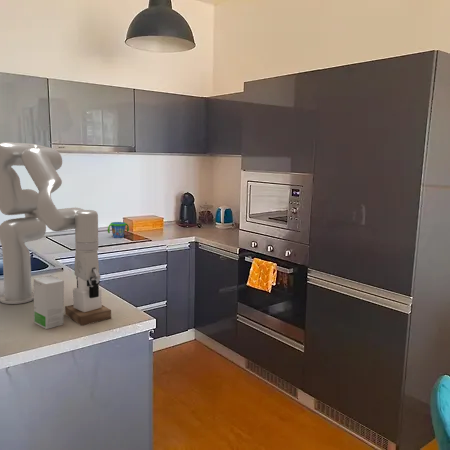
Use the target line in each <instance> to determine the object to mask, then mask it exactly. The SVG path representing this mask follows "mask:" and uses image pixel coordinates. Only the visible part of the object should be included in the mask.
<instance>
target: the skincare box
mask: <svg viewBox="0 0 450 450" xmlns="http://www.w3.org/2000/svg"><path fill="white" fill-rule="evenodd" d="M64 286H65V281H64V280H63V279H60V278H59V277H56V276H53V275H49V274H48V275H45V276H41V277H35V278H33V293H34V300H33V323H34V324H35V325H38V326H39V327H41V328H43V329H45V330H49V329H51V328H52V329H53V328H56V327H59V326H62V325H64V308H65V306H64V304H65V303H64V300H65V299H64V295H65V294H64V291H65V290H64V289H65V287H64Z"/></svg>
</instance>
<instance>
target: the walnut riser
mask: <svg viewBox="0 0 450 450" xmlns="http://www.w3.org/2000/svg"><path fill="white" fill-rule="evenodd" d="M64 310H65V312H64V316H67V317H68V318H70V319H71V320H72V321H74V322H75V323H76V324H78V325H80V326H85V325H88V324H89V323H90V324H94V323H97V321H98V322H101V321H106V320H109V319H112V310H111V309H110V308H109V307H106V306H104V305H103V304H102V308H99V309H95V310H92V311H88V312H82V311H80V310H77V309H75V308H74V307H73V304H70V305H66V306H64ZM105 319H106V320H105ZM93 322H94V323H93Z"/></svg>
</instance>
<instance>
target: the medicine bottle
mask: <svg viewBox="0 0 450 450" xmlns="http://www.w3.org/2000/svg"><path fill="white" fill-rule="evenodd" d="M90 278H93V277H90ZM93 281H94V280H92V283H93ZM89 287H90V284H89V281H88V280H87V281H85V280H83V279H81V278H80V277H78V288H77V287H75V288H72V303H73V304H72V305H73V307H74V308H75V309H77V310H80V311H82V312H88V311H92V310H95V309H99V308H102V305H103V304H102V303H103V301H102V299H103V297H102V288H100V287H99V296H98V297H95V298H89Z"/></svg>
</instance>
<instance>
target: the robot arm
mask: <svg viewBox="0 0 450 450" xmlns="http://www.w3.org/2000/svg"><path fill="white" fill-rule="evenodd" d="M62 165H63V157H62V155H61V153H60V152H59V151H58V150H57V149H56V148H53V147H48V146H44V145H41V144H35V143H28V142H27V143H26V142H25V143H24V142H12V141H4V142H0V212H1V213H2V214H3V215H5V216H18V215H24V217H18V218H17V217H16V218H10V219H7V220H4V221H3V222H2V223H0V245H1V253H2V266H3V267H2V268H3V270H2V271H3V272H2V273H3V289H4V291H3V292H4V294H2V296H0V303H2V304H6V305H19V304H25V303H30V302H32V301H34V291H33V292H32V265H31V264H32V263H31V253H30V250H29V248H28V247H27V246H26V244H25V243H28V242H34V241H38V240H41V239H43V238H44V237H45V235H46V233H47V232H46V231H47V228H48V229H49V230H51V231H53V232H58V233H59V232H63V231H69V230H74V234H75V236H74V239H75V241H74V242H75V243H74V245H75V253H74V254H75V255H74V269H73V270H74V271H73V272H74V275H75V276H76V277H75V278H76V288H78V277H80V278H81V279H83V280H85V281H87V280H88V281H89V284H90V287H89V298H95V297H98V296H99V288H100V287H99V286H100V283H101V282H100V281H101V275H100V267H99V265H100V263H99V254H98V251H99V215H98V211H95V210H92V209H83V208H81V207H66V208H57V207H56V205H55V203H54V202H53V201H54V200H53V199H52V194H53V193H54V192H56V191H57V190H58V189H59V188H60V187H61V186H62V183H63V180H62V178H61V177H60V175H59V174H58V171H59V169H61V167H62ZM13 166H19V167H20V166H22V167H25V170H26V171H27V173H28V174H29V176H30V178H31V180H32V181H33V183H34V185H35V187H36V188H37V191H38V192H37V191H36V190H34V189H29V188H27V189H24V188H22V185H21V179H20V176H19V175H18V173H17V172H16V170H15V169H14V168H13ZM90 277H93V278H90ZM92 280H94V281H93V283H92Z"/></svg>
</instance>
